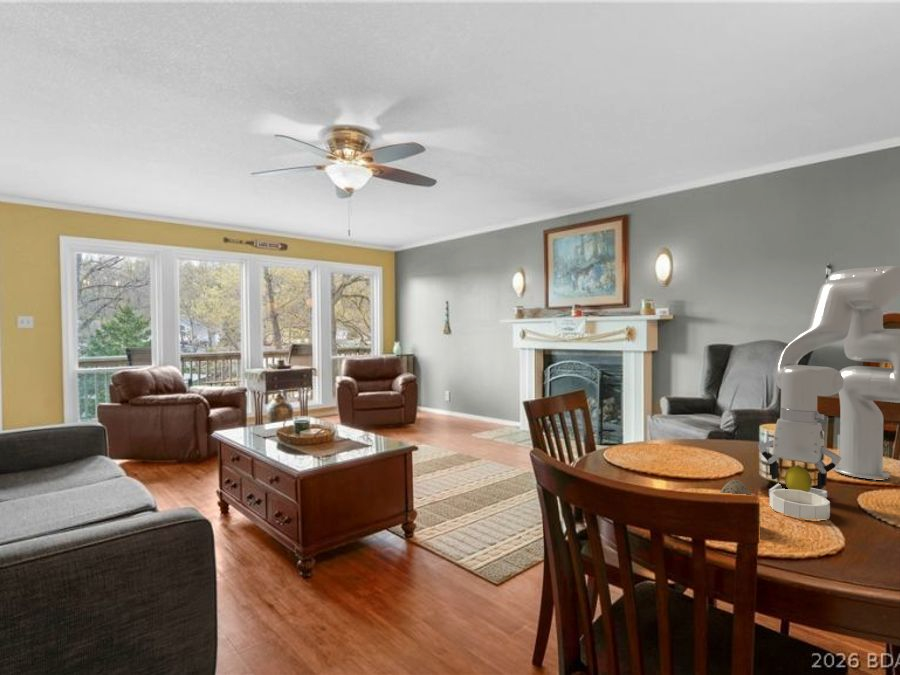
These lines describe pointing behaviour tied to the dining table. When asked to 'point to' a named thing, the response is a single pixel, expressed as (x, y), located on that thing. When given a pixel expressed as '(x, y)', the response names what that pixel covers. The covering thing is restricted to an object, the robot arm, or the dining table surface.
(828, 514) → the bowl
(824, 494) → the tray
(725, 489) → the decorative egg
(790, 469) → the lemon
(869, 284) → the robot arm
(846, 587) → the dining table surface
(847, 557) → the dining table surface
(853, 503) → the dining table surface
